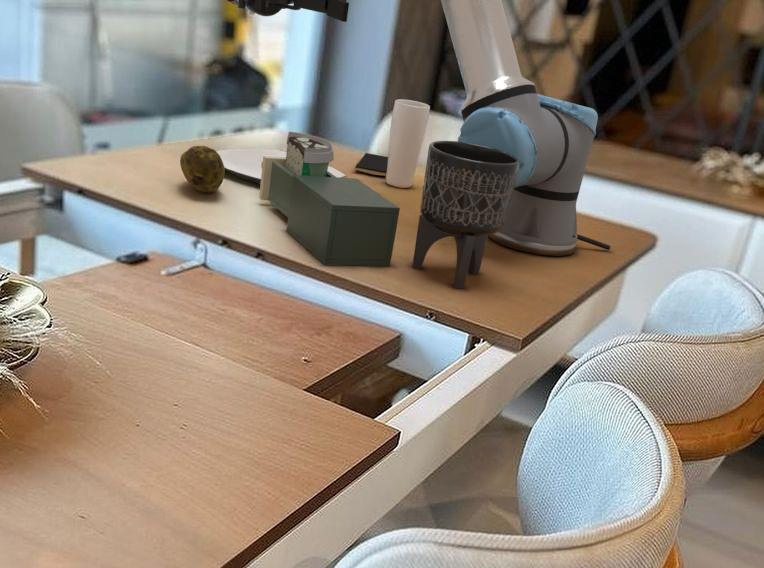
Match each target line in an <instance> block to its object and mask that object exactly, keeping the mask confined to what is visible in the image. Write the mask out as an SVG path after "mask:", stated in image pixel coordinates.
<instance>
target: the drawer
mask: <svg viewBox="0 0 764 568" xmlns="http://www.w3.org/2000/svg"><path fill="white" fill-rule="evenodd" d="M285 165H286V157H272V156H263V161H262V165H261V167H262V174H261V184H259V195H258V199H259V200H260V201H268V202H269V203H270V204H271V205H272V206H274V208H276V209H277V210H278V211H279V212H280V213H282V214H283V215H284V216H285V217H286V218H288V214H289V206H290V198H291V190H292V181H293V175H294V174H292V173H291V172H290V171H288V170H287V169H286V168H285ZM326 177H335V176H334V175H333V174H331V173H330V172H328V171H327V174H326Z"/></svg>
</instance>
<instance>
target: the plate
mask: <svg viewBox="0 0 764 568" xmlns="http://www.w3.org/2000/svg"><path fill="white" fill-rule="evenodd" d="M216 152H217V153H218V154H219V155H220V157H221V159H222V162H223V164H224V169H225V171H227V172H228V173H230V174H232V175H234V176H236V177H238V178H241V179H243V180H246V181H248V182H252V183H256V184H258V185H260V184H261V174H262V167H261V165H262V161H263V156H272V157H286V154H287V151H283V150H279V149H277V148H226V149H221V150H220V149H219V150H216ZM327 171H328V172H330V173H331V174H333V175H334V176H335V177H339V178H347V175H346V174H345V173H343V172H341V171H340V170H338V169H336V168H334V167H332V166H330V165H328V169H327Z"/></svg>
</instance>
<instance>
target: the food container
mask: <svg viewBox="0 0 764 568" xmlns="http://www.w3.org/2000/svg"><path fill="white" fill-rule="evenodd" d="M286 146H287V147H286V152H287V154H286V165H285V168H286V169H287V170H288V171H290V172H291V173H292V174H294V175H305V176H322V177H326V174H327V169H328V166H330V165H329V164H330V163H331V162H333V161H334V160H335V158H334V157H335V155H334V148H333V143H332V142H330V141H329V140H327V139H324V138H321V137H318V136H315V135H312V134H308V133H303V132H295V131H288V133H287V138H286Z"/></svg>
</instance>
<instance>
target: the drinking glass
mask: <svg viewBox="0 0 764 568" xmlns="http://www.w3.org/2000/svg"><path fill="white" fill-rule="evenodd" d="M430 110H431V105H429V104H427V103H425V102H421V101H416V100H411V99H405V98H403V99H401V98H398V99H395V100H394V104H393V109H392V115H391V121H390V128H389V130H390V131H389V141H388V143H389V144H388V152H387V153H388V154H387V157H388V164H387V173H386V176H385V183H386V184H387V185H388V186H391V187H394V188H399V189H409V188H412V187H413V184H414V179H415V174H416V171H417V167H418V163H419V159H420V155H421V151H422V147H423V143H424V140H425V136H426V132H427V128H428V123H429V118H430Z"/></svg>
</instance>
